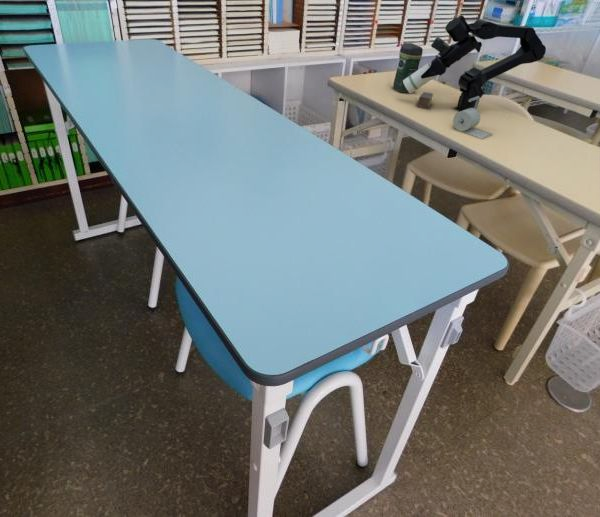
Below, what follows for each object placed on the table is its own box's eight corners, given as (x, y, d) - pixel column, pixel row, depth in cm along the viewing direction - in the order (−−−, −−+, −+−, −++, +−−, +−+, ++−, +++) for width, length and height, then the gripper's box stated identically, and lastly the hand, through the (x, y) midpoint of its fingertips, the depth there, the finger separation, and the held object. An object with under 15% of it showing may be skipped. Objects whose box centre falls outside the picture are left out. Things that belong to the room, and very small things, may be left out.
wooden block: (430, 103, 182) (433, 93, 179) (427, 109, 175) (430, 98, 173) (421, 101, 183) (423, 91, 180) (417, 107, 176) (419, 96, 174)
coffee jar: (416, 93, 192) (427, 46, 181) (400, 93, 190) (410, 46, 179) (405, 86, 200) (414, 41, 189) (389, 87, 197) (398, 41, 186)
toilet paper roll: (493, 133, 159) (463, 122, 165) (503, 102, 152) (472, 93, 159) (479, 139, 152) (448, 128, 159) (490, 107, 146) (457, 97, 152)
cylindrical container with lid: (429, 92, 180) (438, 62, 172) (430, 98, 176) (439, 67, 168) (400, 88, 181) (407, 58, 173) (400, 94, 176) (408, 63, 168)
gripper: (451, 27, 169) (416, 53, 179) (444, 33, 155) (406, 62, 165) (466, 52, 172) (430, 77, 181) (461, 61, 158) (422, 88, 167)
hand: (422, 75), depth 173 cm, fingers closed on cylindrical container with lid, 6 cm apart
